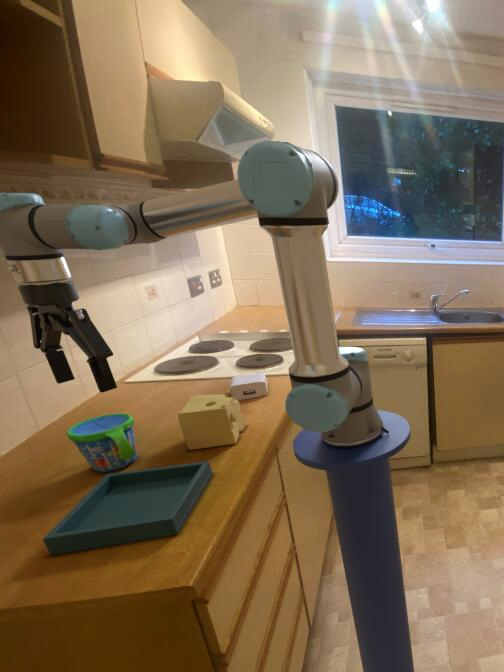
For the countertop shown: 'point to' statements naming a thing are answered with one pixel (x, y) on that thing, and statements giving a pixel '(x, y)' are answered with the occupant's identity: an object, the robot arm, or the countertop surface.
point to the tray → (131, 508)
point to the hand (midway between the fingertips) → (87, 385)
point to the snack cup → (106, 441)
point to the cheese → (211, 421)
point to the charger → (248, 386)
